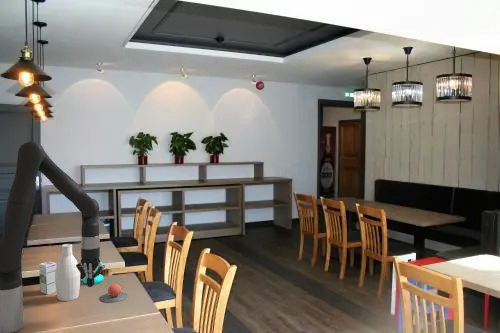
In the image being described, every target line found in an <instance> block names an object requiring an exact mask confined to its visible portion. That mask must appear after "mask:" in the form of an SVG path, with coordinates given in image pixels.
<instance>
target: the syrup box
mask: <svg viewBox="0 0 500 333" xmlns="http://www.w3.org/2000/svg"><path fill="white" fill-rule="evenodd" d="M38 266H39V268H38V269H39V270H38V271H39V292H40V293H41V294H45V295H51V294H54V293H57V292H56V285H55V272H56V268H57V263H56V262H53V261H50V260H49V261H44V262H42V263H39V264H38Z"/></svg>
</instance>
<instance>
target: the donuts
mask: <svg viewBox="0 0 500 333" xmlns="http://www.w3.org/2000/svg"><path fill="white" fill-rule="evenodd" d="M100 263H101V264H102V265H104V263H103V262H102V261H100ZM97 268H98V267H97ZM97 268H96V271H97V270H98V269H97ZM103 281H104V275H102V274H101V273H100V274H99V276H97V277H95V278H94V285H97V284H100V283H102V282H103ZM83 283H84V284H86V285H87V278H86V277H85V276H84V277H83Z"/></svg>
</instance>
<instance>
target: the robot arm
mask: <svg viewBox="0 0 500 333" xmlns="http://www.w3.org/2000/svg"><path fill="white" fill-rule="evenodd" d="M39 172H40V173H41V174H42V175H44V176H45V178H47V180H49V182H50V183H51V184H52V185H53V186H54V188H56V190H58V192H60V193H61V195H63V196H64V197H65V198H66V199H67V200H68V201H70V202H71V203H72V204H73V205H74V206H75V208H77V210H78V211H79V212H81V232H80V233H81V236H80V237H81V239H80V257H81V259H80V262H78V264H77V265H76V267H77V269H78V270H79V272H80V276H81V277H83V278H84V277H86V278H87V284H86V286H87V287H88V288H92V287H94V285H95V284H94V278H95V277H97V276H99V274H101V273H102V272H103V271H104V269H105V268H106V265H105V264H103V265H102V264H101V263H100V262H101V260H100V256H101V248H100V247H101V239H100V225H99V224H100V223H99V212H100V205H99V202H98V201H97V200H96V199H95V198H92V197H91V196H90V195H89V194H87V193H86V191H85V190H84V189H83V187H82V186H81V185H79V183H77V182H76V181H75V179H73V178H72V176H70V175H68V174H67V172H65V171H64V170H63V169H61V168H60V167H59V166H58V165H57V164H56V163H55V162H54V161H53V160H52V159H51V157H50V156H49V155H48V153H47V152H46V151H45V149H44V147H43V145H41V144H40V143H38V142H35V141H26V142H24V143H22V144H21V145H20V146H19V148H18V151H17V161H16V169H15V175H14V177H13V178H14V179H13V181H12V184H11V187H10V189H9V190H10V191H9V194H8V197H7V201H6V205H5V210H4V217H3V233H2V238H1V242H0V333H15V332H18V331H20V330H22V329H23V328H24V323H25V322H24V302H23V301H24V299H23V298H24V297H23V295H24V294H23V273H22V260H23V259H22V255H23V246H24V240H25V235H26V232H27V230H28V227H29V222H30V219H31V216H32V212H33V207H34V203H35V198H36V197H35V196H36V182H37V181H36V180H37V175H38V173H39ZM97 267H98V268H97ZM96 268H97V269H98V270H97V271H96Z"/></svg>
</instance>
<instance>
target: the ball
mask: <svg viewBox="0 0 500 333" xmlns="http://www.w3.org/2000/svg"><path fill="white" fill-rule="evenodd" d="M121 292H122V288H121V286H120V285H119V284H117V283H114V284H111V285H109V287H108V289H107V293H109V295H110V296H111V297H117V296H118V295H119V294H120V293H121Z"/></svg>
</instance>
